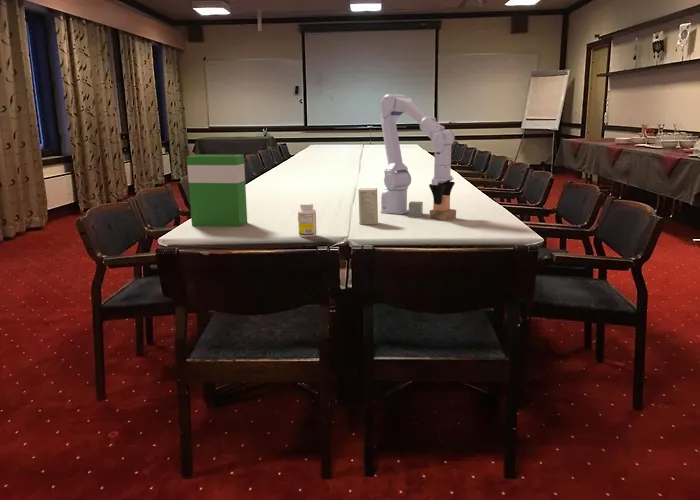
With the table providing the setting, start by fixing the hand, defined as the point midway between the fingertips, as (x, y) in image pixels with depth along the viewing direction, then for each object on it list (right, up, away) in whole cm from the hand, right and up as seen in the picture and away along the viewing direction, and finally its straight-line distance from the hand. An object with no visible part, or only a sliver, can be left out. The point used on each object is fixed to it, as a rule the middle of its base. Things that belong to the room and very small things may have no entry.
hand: (441, 203), depth 206 cm
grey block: (-8, -4, +9) cm, 13 cm away
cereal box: (-79, -8, -4) cm, 79 cm away
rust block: (0, -2, +1) cm, 3 cm away
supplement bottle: (-46, -13, -25) cm, 54 cm away
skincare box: (-27, -8, -6) cm, 28 cm away
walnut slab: (+1, -6, +2) cm, 6 cm away
